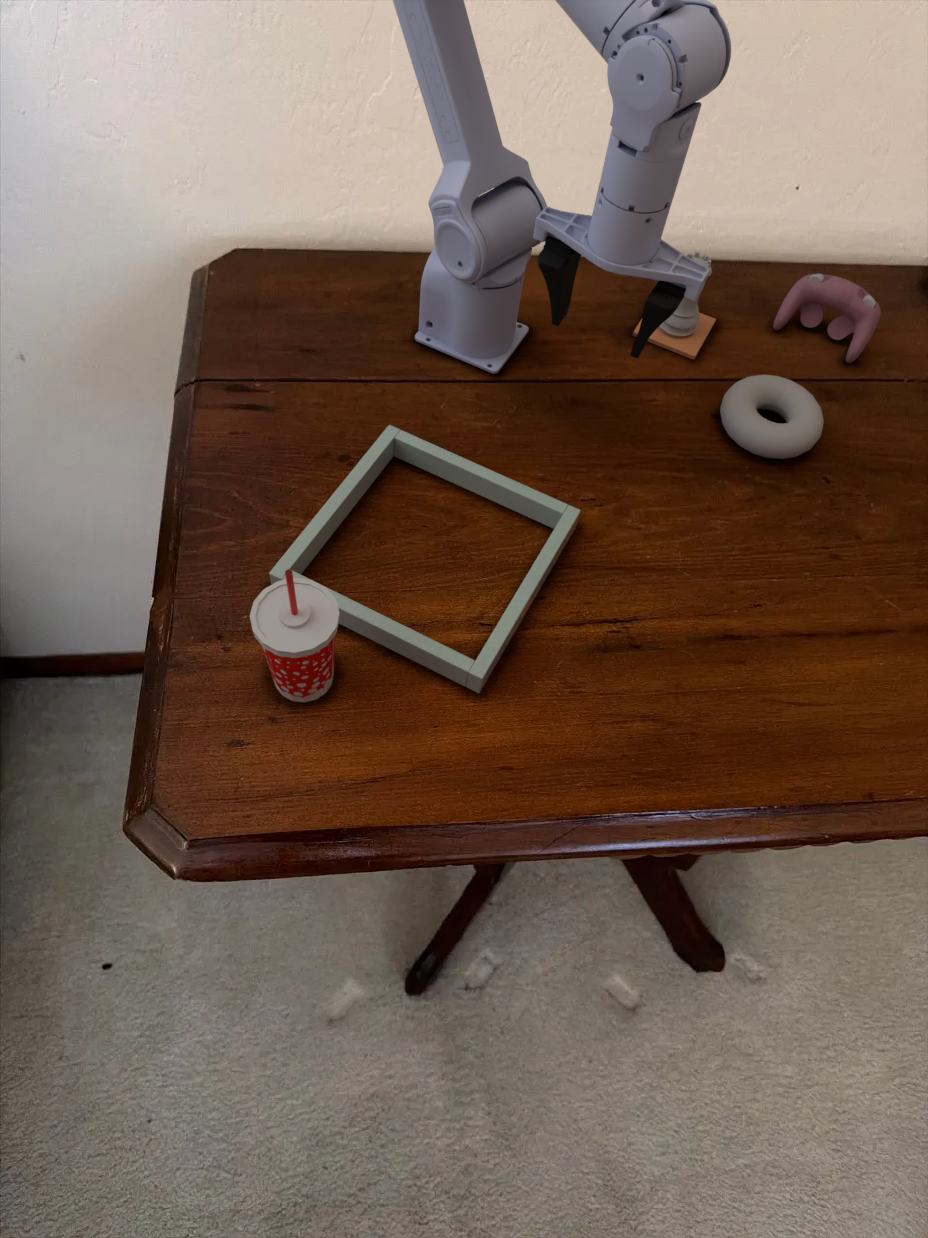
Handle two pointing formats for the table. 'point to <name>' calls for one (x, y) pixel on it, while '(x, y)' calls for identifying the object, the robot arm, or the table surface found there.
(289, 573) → the beverage cup
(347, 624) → the open square border
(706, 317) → the mat
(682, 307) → the rook chess piece
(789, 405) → the donut
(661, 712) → the table surface
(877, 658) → the table surface
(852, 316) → the video game controller
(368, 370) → the table surface
